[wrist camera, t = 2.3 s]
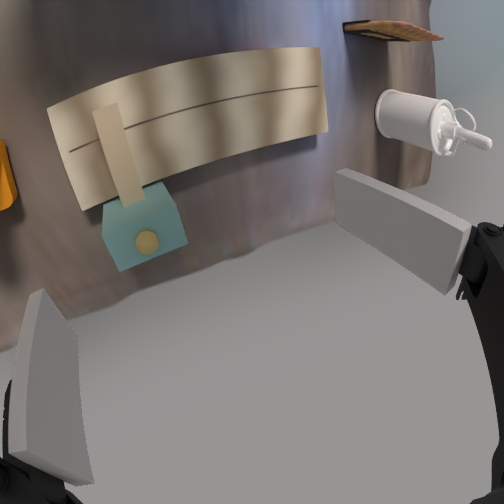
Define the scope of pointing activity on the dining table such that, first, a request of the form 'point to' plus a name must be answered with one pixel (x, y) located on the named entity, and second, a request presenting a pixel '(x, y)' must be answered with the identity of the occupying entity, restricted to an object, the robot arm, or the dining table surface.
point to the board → (192, 114)
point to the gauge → (134, 202)
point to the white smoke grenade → (424, 122)
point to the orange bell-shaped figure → (6, 180)
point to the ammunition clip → (389, 31)
